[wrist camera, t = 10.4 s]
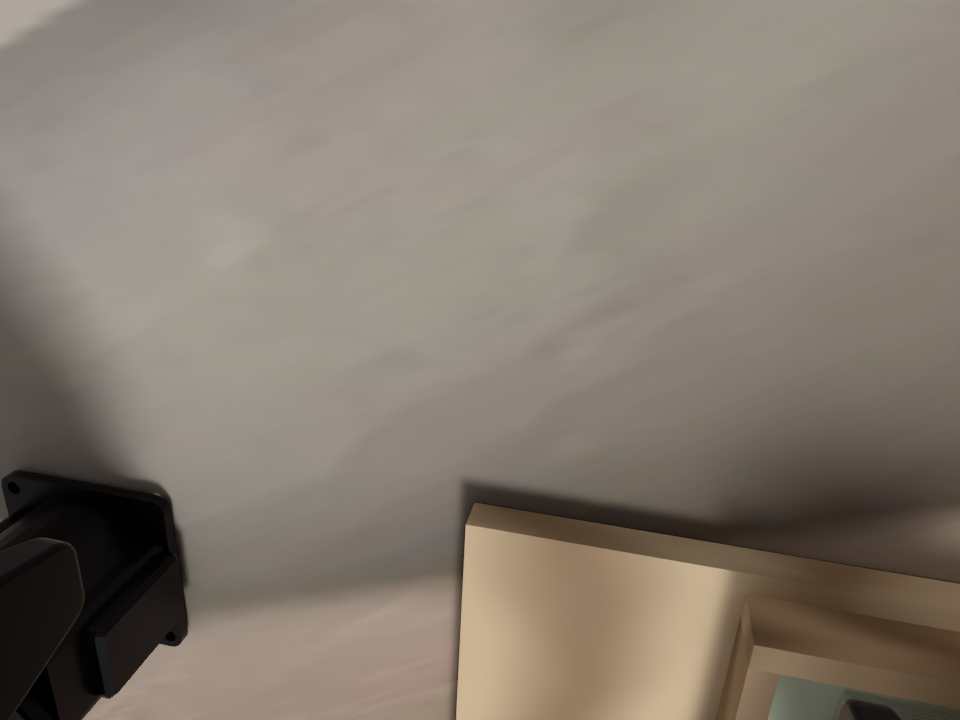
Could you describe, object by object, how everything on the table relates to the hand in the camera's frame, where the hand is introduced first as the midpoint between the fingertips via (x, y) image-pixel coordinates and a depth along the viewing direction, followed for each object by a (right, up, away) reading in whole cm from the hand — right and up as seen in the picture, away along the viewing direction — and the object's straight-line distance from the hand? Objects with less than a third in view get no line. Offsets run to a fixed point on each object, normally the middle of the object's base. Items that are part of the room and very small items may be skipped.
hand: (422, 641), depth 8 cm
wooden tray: (+9, -8, +15) cm, 20 cm away
